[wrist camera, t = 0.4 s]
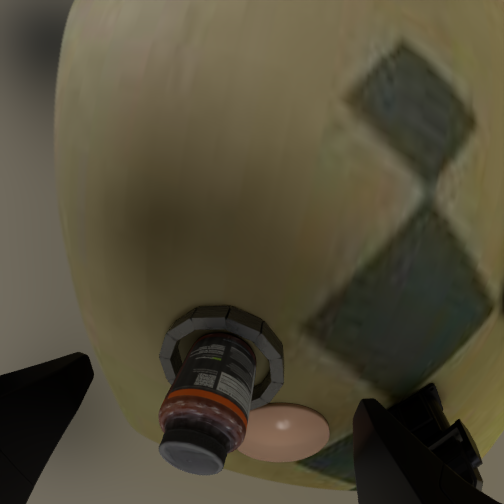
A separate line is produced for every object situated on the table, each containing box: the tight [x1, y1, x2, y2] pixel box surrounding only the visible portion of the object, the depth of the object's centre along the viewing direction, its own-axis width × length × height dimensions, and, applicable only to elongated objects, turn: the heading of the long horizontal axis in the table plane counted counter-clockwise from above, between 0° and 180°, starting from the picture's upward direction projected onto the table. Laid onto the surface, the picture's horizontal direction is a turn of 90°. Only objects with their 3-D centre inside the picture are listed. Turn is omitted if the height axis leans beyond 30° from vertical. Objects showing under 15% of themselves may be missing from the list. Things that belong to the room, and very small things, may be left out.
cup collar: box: [159, 306, 284, 410], centre depth 22 cm, size 10×10×2 cm
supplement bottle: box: [159, 333, 256, 475], centre depth 17 cm, size 6×6×11 cm
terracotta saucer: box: [237, 403, 330, 462], centre depth 25 cm, size 11×11×1 cm
